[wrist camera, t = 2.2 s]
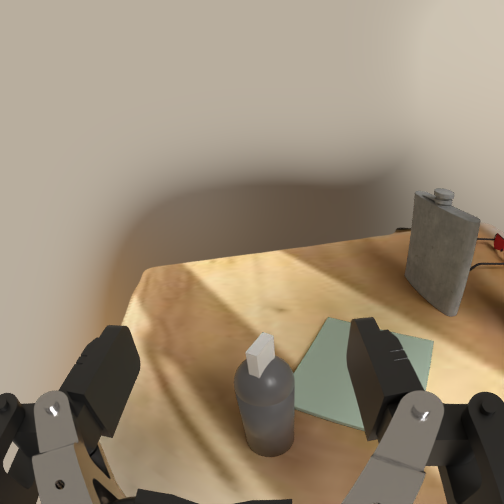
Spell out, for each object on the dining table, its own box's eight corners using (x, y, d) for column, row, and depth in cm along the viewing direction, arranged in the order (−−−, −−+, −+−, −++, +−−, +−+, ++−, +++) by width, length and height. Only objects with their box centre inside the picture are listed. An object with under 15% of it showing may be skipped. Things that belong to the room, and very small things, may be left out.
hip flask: (460, 313, 44) (486, 205, 35) (445, 319, 44) (471, 207, 35) (413, 271, 58) (424, 177, 49) (398, 274, 58) (408, 178, 49)
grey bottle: (262, 413, 34) (248, 315, 27) (302, 428, 31) (305, 332, 24) (238, 445, 30) (212, 354, 23) (279, 463, 27) (273, 378, 20)
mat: (328, 319, 49) (328, 317, 48) (432, 343, 39) (433, 341, 39) (276, 402, 35) (276, 399, 35) (411, 442, 26) (413, 440, 26)
